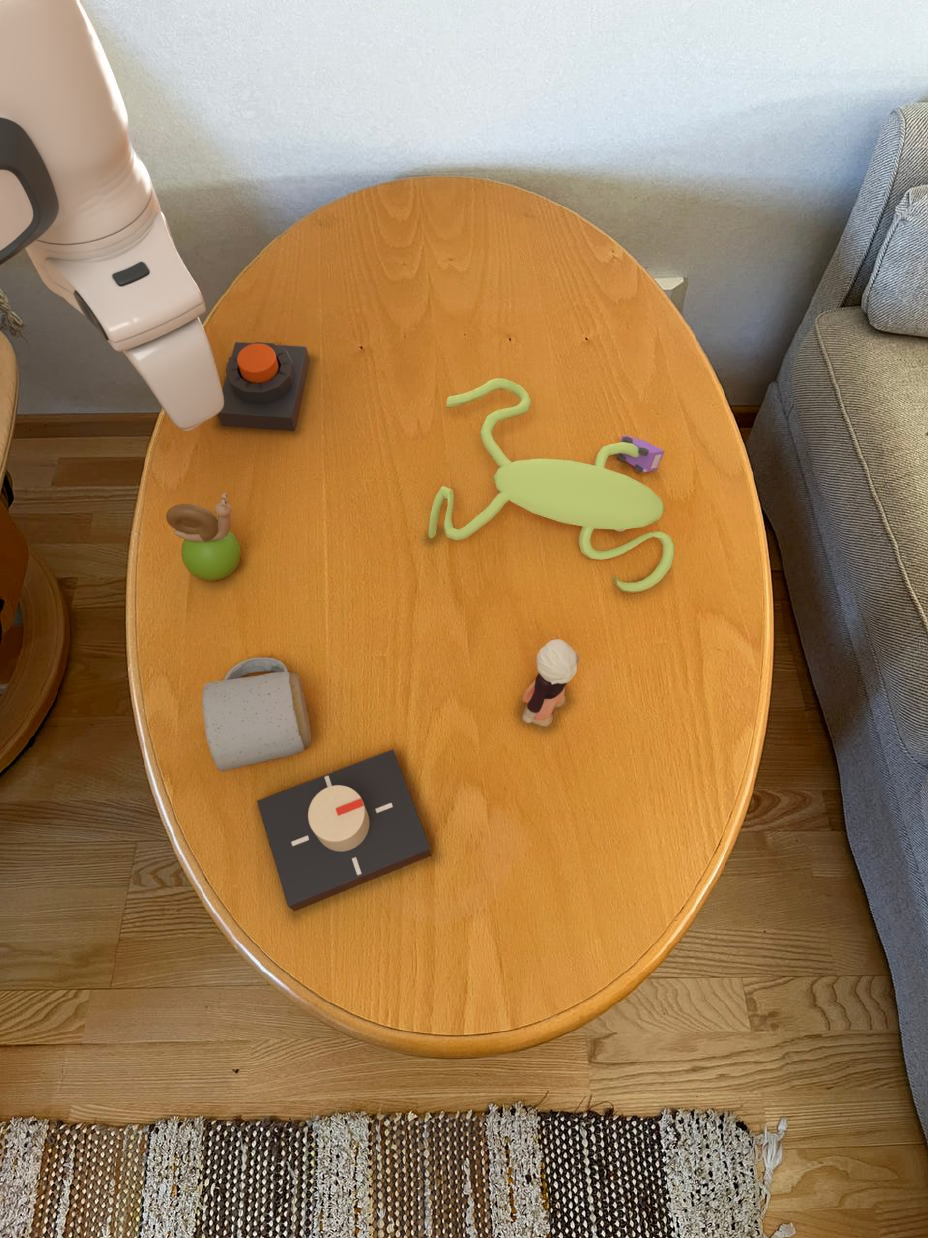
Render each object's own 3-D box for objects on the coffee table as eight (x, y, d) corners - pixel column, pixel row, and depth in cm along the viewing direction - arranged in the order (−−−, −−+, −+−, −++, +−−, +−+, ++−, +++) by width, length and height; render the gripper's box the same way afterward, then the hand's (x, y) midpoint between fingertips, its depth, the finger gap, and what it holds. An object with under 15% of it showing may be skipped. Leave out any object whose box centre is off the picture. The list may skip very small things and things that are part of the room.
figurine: (459, 397, 92) (459, 360, 87) (697, 461, 89) (711, 427, 84) (400, 531, 85) (396, 500, 80) (658, 608, 81) (672, 580, 76)
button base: (294, 431, 90) (288, 406, 87) (221, 425, 90) (211, 400, 87) (309, 360, 95) (304, 334, 91) (239, 355, 95) (231, 329, 91)
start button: (274, 385, 88) (271, 373, 87) (237, 382, 88) (233, 370, 87) (281, 356, 90) (278, 344, 88) (244, 353, 90) (241, 341, 89)
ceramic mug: (319, 760, 74) (305, 731, 67) (226, 783, 73) (203, 755, 66) (300, 655, 79) (285, 617, 72) (212, 674, 78) (189, 638, 71)
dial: (325, 860, 67) (317, 849, 63) (308, 809, 69) (300, 796, 65) (376, 839, 68) (372, 828, 64) (359, 789, 70) (353, 775, 66)
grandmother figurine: (538, 665, 78) (553, 603, 67) (576, 682, 78) (598, 622, 66) (505, 736, 75) (514, 684, 64) (544, 754, 74) (560, 704, 63)
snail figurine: (252, 591, 81) (221, 524, 71) (186, 590, 81) (145, 523, 71) (259, 543, 84) (230, 471, 73) (195, 542, 84) (156, 470, 73)
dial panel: (294, 911, 68) (287, 906, 66) (263, 809, 72) (256, 800, 69) (431, 855, 70) (430, 848, 68) (395, 759, 74) (392, 748, 71)
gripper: (-11, 166, 57) (71, 321, 70) (120, 352, 50) (185, 487, 62) (76, 133, 59) (140, 290, 71) (214, 308, 52) (260, 448, 64)
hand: (162, 383), depth 67 cm, fingers open, 8 cm apart
